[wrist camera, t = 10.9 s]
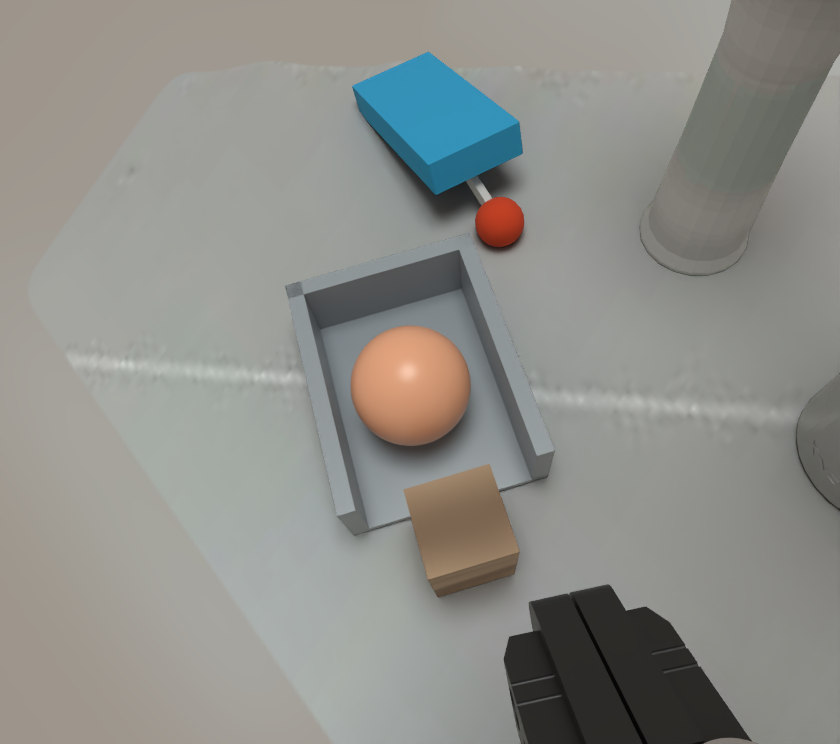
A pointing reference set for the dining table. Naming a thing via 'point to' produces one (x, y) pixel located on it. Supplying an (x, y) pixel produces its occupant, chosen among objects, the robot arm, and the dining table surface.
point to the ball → (410, 385)
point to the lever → (446, 135)
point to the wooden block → (462, 530)
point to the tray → (452, 317)
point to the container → (740, 131)
